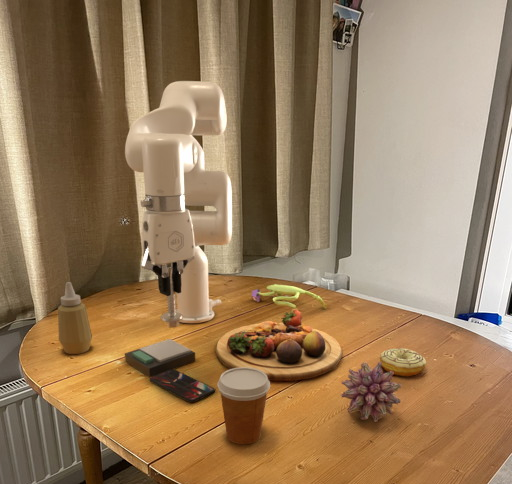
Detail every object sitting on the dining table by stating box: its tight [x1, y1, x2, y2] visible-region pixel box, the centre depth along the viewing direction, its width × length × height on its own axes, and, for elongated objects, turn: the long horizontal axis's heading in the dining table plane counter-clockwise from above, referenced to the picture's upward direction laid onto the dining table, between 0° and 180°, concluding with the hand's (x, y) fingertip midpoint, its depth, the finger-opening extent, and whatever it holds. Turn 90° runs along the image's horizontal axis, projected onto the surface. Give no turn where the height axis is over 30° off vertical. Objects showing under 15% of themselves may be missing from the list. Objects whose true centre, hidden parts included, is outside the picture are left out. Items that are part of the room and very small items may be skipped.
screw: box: [160, 266, 183, 329], centre depth 105 cm, size 13×5×5 cm
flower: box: [340, 361, 403, 423], centre depth 98 cm, size 12×12×12 cm
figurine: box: [251, 283, 328, 310], centre depth 163 cm, size 18×27×6 cm
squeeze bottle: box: [57, 281, 93, 355], centre depth 125 cm, size 8×8×18 cm
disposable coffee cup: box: [216, 367, 271, 445], centre depth 91 cm, size 10×10×12 cm
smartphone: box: [149, 368, 216, 403], centre depth 111 cm, size 7×1×15 cm
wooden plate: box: [215, 309, 343, 382], centre depth 126 cm, size 32×32×8 cm
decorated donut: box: [379, 347, 427, 377], centre depth 120 cm, size 10×11×4 cm
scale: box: [124, 338, 196, 378], centre depth 122 cm, size 13×11×3 cm
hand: (170, 292), depth 104 cm, fingers closed on screw, 2 cm apart
